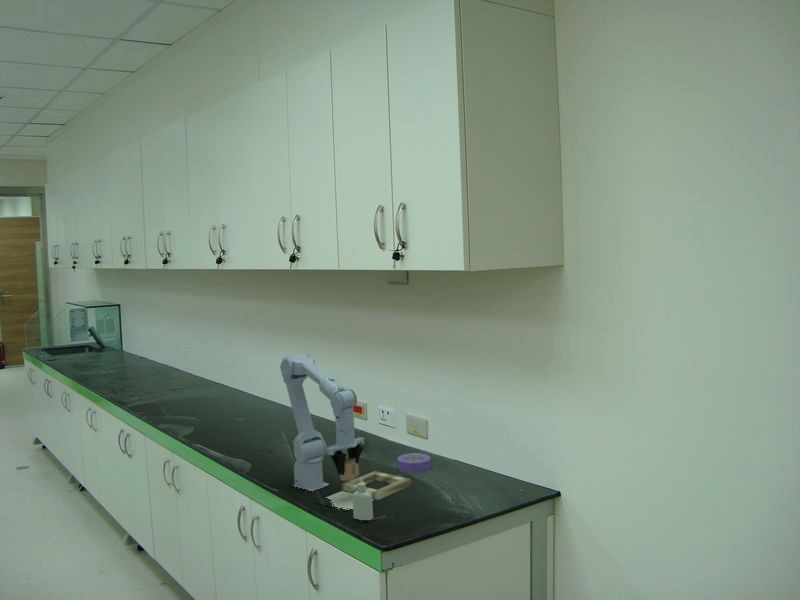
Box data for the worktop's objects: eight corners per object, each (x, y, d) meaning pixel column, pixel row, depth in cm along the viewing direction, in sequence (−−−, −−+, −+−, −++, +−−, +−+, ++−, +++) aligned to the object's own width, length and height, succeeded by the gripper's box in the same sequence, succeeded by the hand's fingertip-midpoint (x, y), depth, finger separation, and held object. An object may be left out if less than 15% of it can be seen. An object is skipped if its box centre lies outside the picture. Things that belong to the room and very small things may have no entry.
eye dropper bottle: (364, 514, 206) (362, 474, 206) (375, 520, 202) (373, 479, 201) (352, 518, 204) (349, 478, 203) (362, 524, 199) (360, 483, 198)
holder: (342, 490, 228) (341, 484, 228) (375, 476, 240) (375, 471, 240) (378, 500, 218) (377, 493, 218) (411, 485, 230) (410, 479, 230)
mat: (314, 503, 218) (314, 502, 218) (342, 491, 227) (342, 490, 227) (346, 512, 209) (346, 511, 209) (373, 500, 218) (373, 499, 218)
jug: (347, 474, 222) (346, 455, 222) (363, 477, 219) (362, 458, 218) (336, 479, 218) (335, 460, 218) (352, 482, 214) (351, 463, 214)
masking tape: (434, 463, 253) (433, 453, 252) (426, 474, 241) (426, 463, 241) (402, 462, 256) (402, 452, 255) (394, 472, 245) (393, 462, 244)
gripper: (337, 436, 210) (340, 480, 211) (370, 425, 221) (372, 467, 222) (321, 433, 214) (323, 476, 215) (354, 422, 225) (356, 464, 226)
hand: (347, 471), depth 219 cm, fingers closed on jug, 5 cm apart
